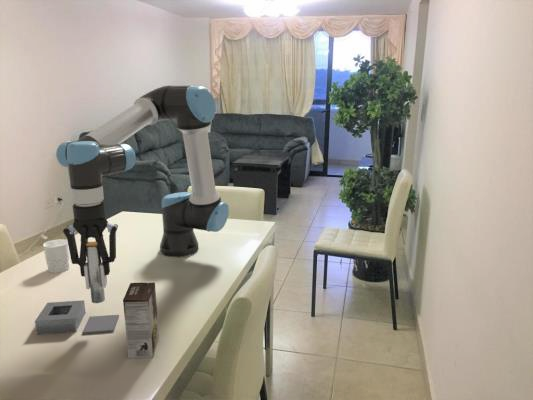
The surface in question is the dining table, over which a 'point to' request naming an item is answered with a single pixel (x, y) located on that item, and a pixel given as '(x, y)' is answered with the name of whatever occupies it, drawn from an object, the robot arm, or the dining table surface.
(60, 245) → the white cup
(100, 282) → the grey long rod
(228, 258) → the dining table surface
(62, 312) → the block
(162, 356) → the dining table surface
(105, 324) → the mat
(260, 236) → the dining table surface
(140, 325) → the coffee box
